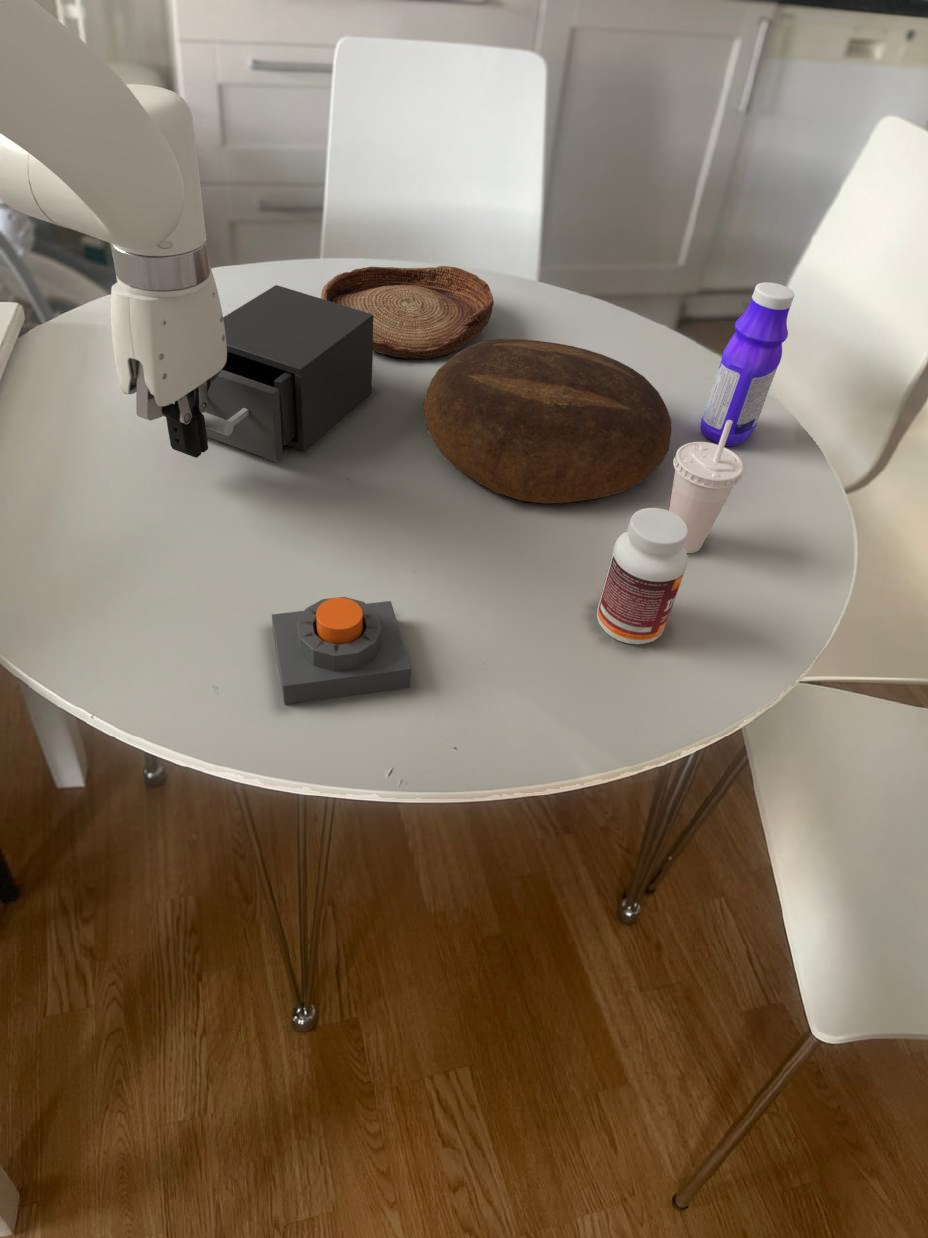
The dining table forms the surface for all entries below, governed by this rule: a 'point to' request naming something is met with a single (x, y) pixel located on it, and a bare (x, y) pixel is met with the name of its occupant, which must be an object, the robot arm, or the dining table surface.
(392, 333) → the basket
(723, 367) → the bottle
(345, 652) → the control block
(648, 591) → the pill bottle
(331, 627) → the button
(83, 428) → the dining table surface
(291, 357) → the grey drawer cabinet
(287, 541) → the dining table surface
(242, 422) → the fryer drawer
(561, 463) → the bread
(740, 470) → the smoothie
